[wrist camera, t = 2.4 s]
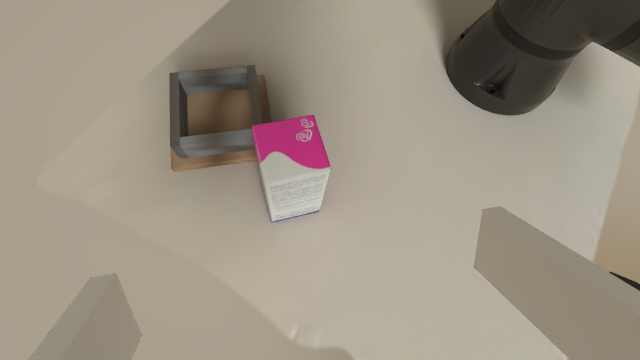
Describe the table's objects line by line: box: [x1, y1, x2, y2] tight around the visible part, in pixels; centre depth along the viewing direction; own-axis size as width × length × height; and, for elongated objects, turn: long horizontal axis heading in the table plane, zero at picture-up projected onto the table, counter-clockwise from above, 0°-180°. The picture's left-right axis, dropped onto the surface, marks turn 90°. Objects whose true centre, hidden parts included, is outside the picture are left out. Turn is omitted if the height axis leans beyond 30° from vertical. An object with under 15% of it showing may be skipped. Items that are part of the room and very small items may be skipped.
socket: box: [170, 65, 271, 172], centre depth 37 cm, size 12×12×4 cm
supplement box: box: [252, 115, 331, 223], centre depth 30 cm, size 6×6×12 cm
